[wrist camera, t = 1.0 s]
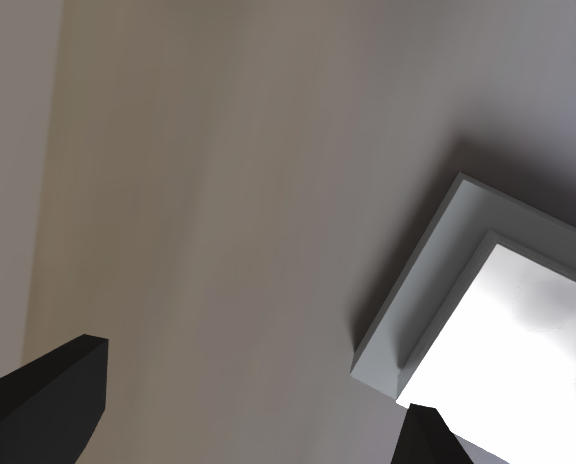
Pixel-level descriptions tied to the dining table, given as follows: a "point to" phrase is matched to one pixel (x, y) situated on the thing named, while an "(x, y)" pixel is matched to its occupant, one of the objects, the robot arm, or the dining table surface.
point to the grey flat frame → (450, 270)
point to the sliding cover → (503, 356)
